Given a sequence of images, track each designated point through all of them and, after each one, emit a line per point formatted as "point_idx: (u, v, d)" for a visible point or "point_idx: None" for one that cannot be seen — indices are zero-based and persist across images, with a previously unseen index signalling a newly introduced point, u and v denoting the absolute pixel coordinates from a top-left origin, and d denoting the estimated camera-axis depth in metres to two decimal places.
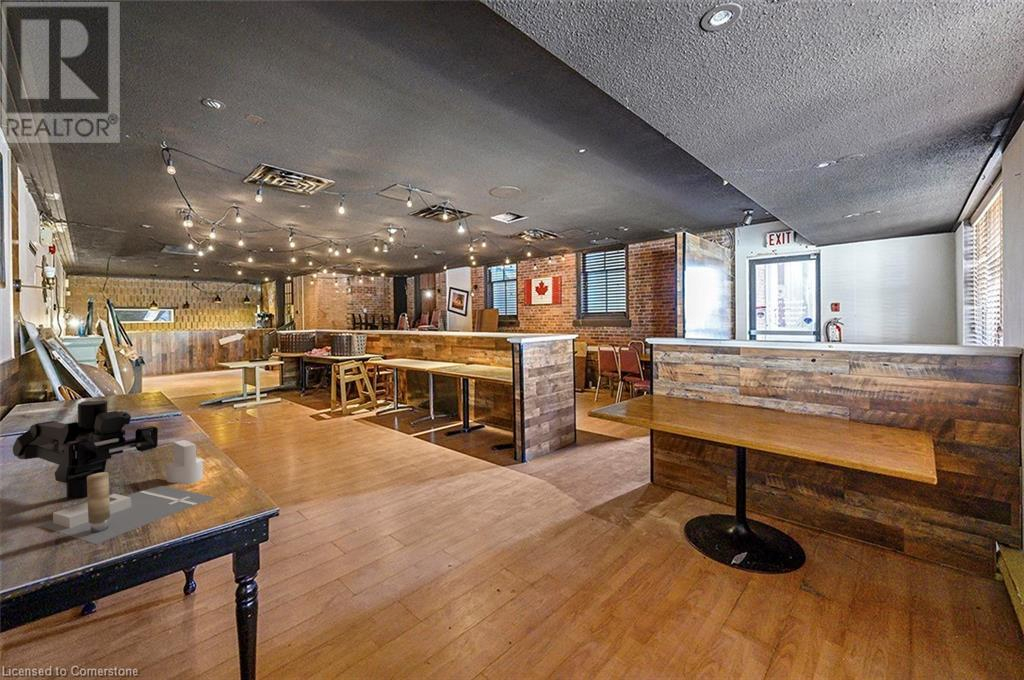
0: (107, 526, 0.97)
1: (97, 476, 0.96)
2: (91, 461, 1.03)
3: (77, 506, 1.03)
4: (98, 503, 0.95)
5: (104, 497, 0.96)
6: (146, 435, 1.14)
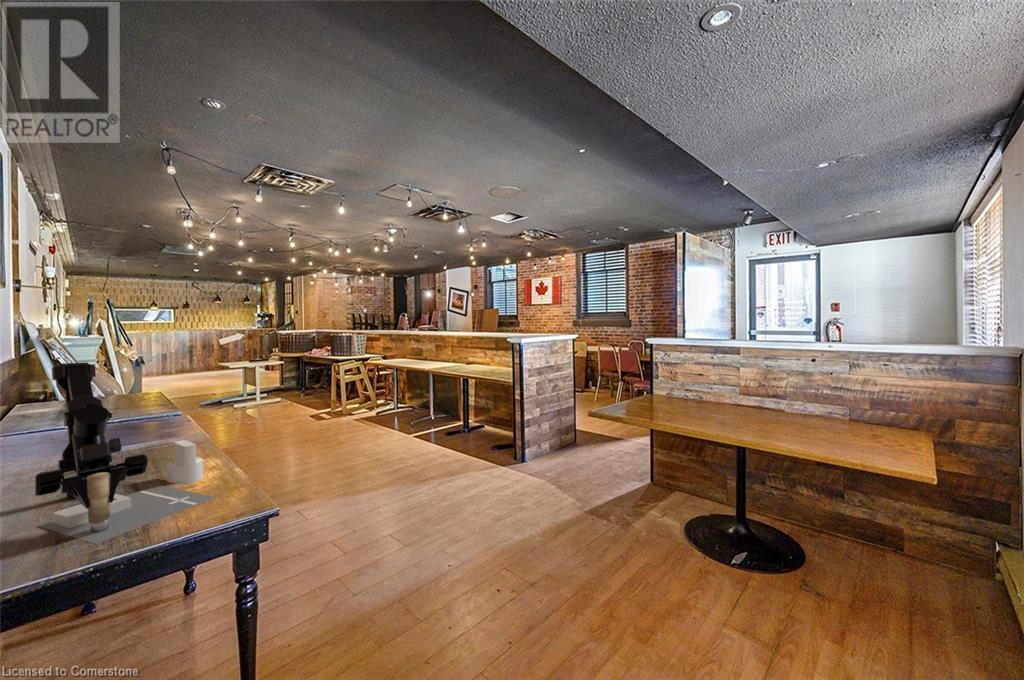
0: (107, 526, 0.97)
1: (97, 476, 0.96)
2: (74, 495, 0.96)
3: (77, 506, 1.03)
4: (98, 503, 0.95)
5: (104, 497, 0.96)
6: (115, 476, 1.00)
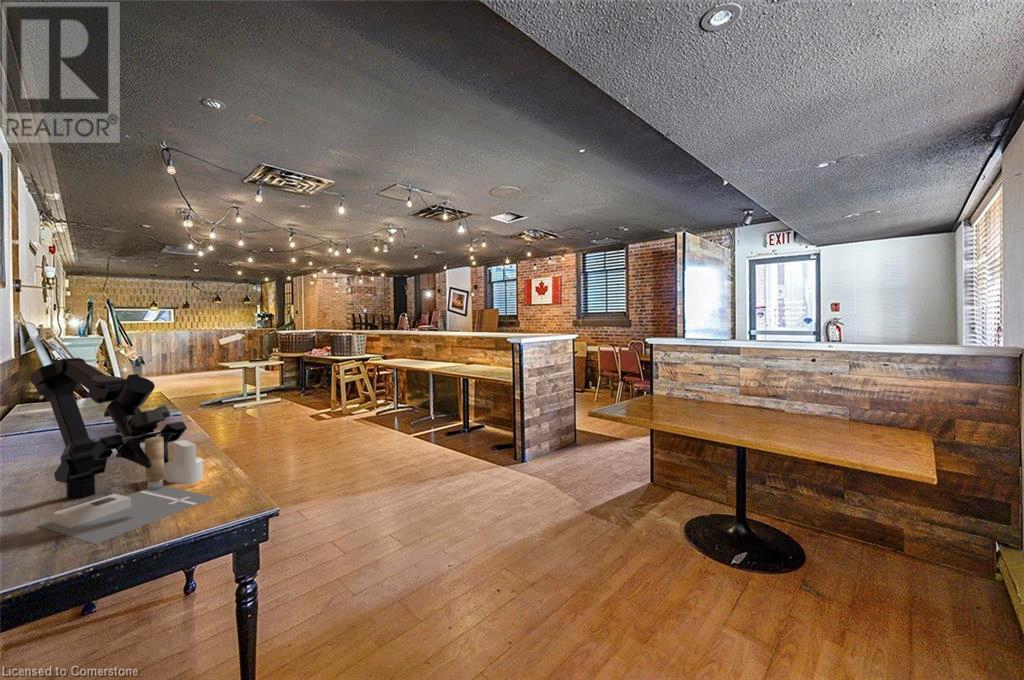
0: None
1: (156, 439, 1.06)
2: (130, 458, 1.04)
3: (77, 506, 1.03)
4: (158, 463, 1.06)
5: (162, 457, 1.06)
6: (164, 440, 1.09)
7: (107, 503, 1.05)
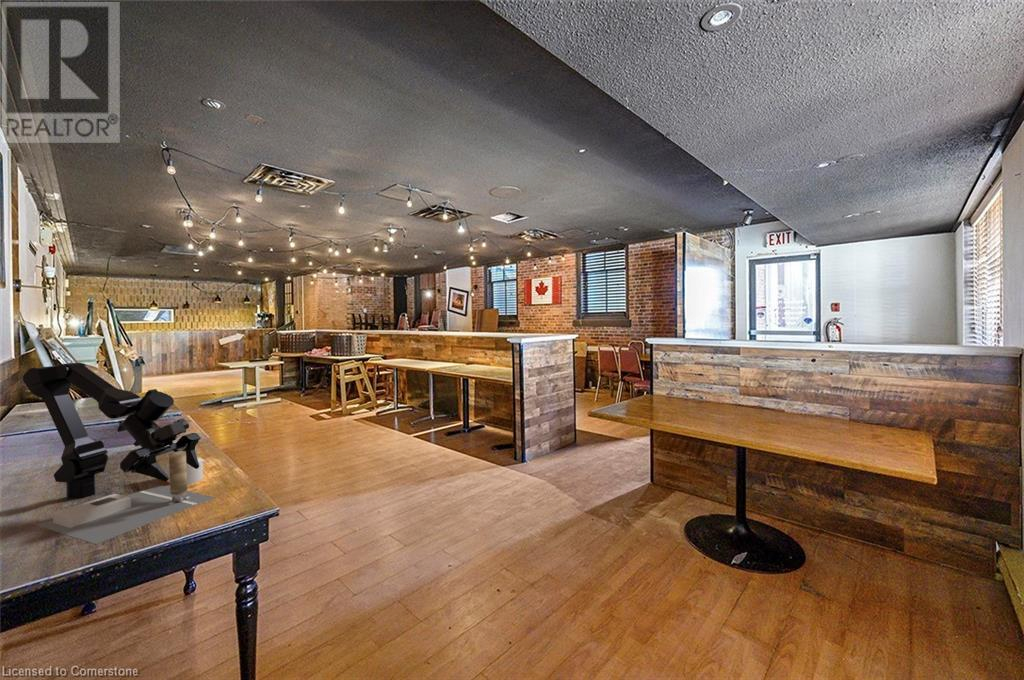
0: None
1: (180, 453, 1.12)
2: (145, 473, 1.07)
3: (77, 506, 1.03)
4: (183, 476, 1.12)
5: (186, 471, 1.13)
6: (192, 448, 1.18)
7: (107, 503, 1.05)
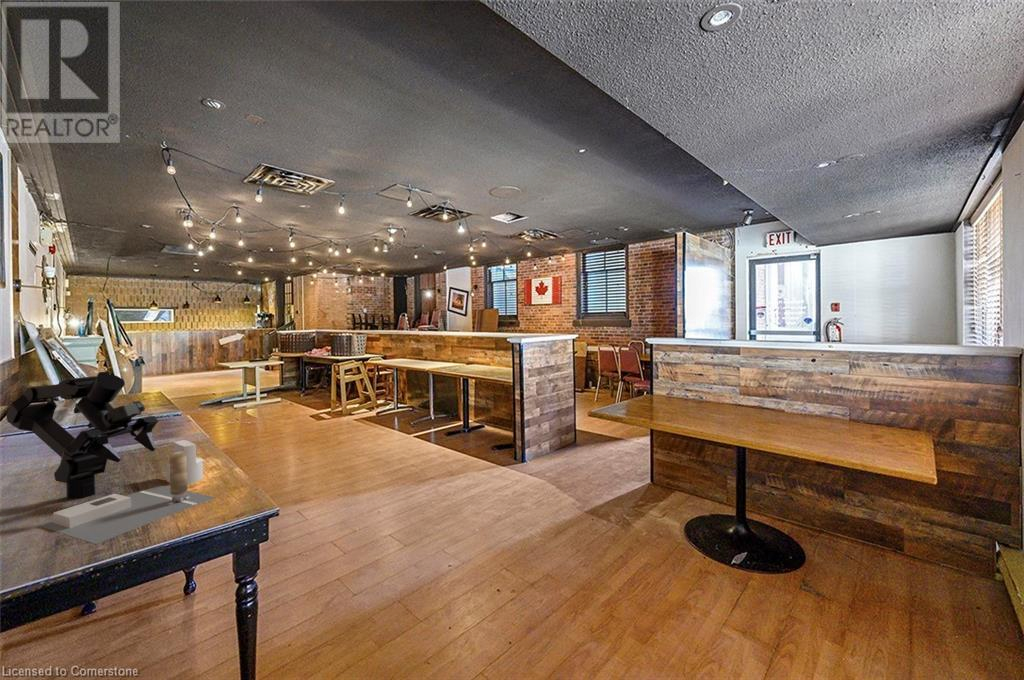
0: None
1: (180, 453, 1.12)
2: (97, 454, 1.07)
3: (77, 506, 1.03)
4: (183, 476, 1.12)
5: (186, 471, 1.13)
6: (148, 431, 1.18)
7: (107, 503, 1.05)
